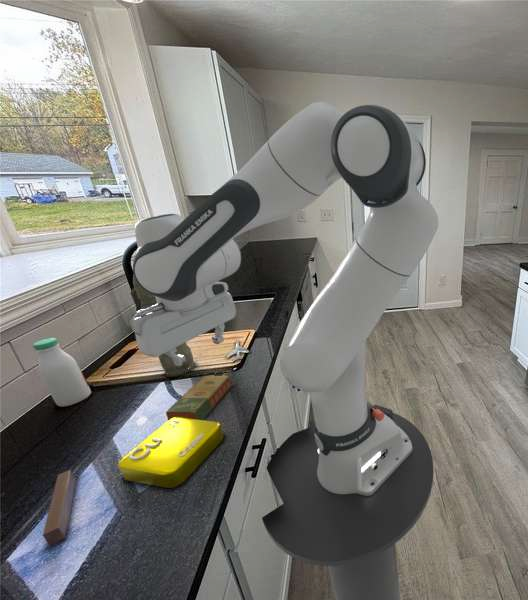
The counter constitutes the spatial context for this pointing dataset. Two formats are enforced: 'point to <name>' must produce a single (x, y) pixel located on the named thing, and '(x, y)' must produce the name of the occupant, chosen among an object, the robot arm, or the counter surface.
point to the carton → (200, 398)
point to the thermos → (148, 300)
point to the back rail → (60, 508)
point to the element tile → (171, 452)
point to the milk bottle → (60, 373)
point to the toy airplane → (237, 351)
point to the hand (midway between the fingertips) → (201, 352)
